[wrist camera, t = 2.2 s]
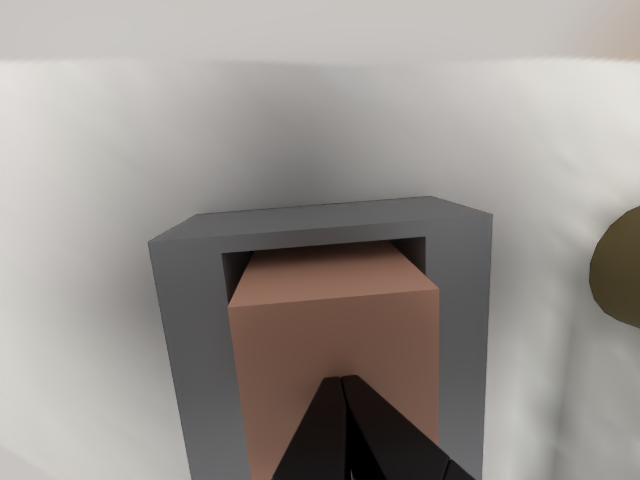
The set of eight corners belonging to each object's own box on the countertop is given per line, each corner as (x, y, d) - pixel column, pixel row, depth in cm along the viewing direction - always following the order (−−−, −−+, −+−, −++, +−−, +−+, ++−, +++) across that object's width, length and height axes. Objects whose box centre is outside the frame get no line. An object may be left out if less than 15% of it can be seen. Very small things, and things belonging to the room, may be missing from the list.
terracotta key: (385, 348, 15) (437, 463, 9) (269, 359, 15) (252, 483, 9) (382, 235, 14) (439, 288, 8) (256, 245, 14) (227, 307, 8)
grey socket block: (431, 496, 19) (476, 612, 14) (242, 518, 19) (222, 644, 14) (431, 196, 15) (492, 214, 11) (196, 214, 15) (147, 242, 10)
